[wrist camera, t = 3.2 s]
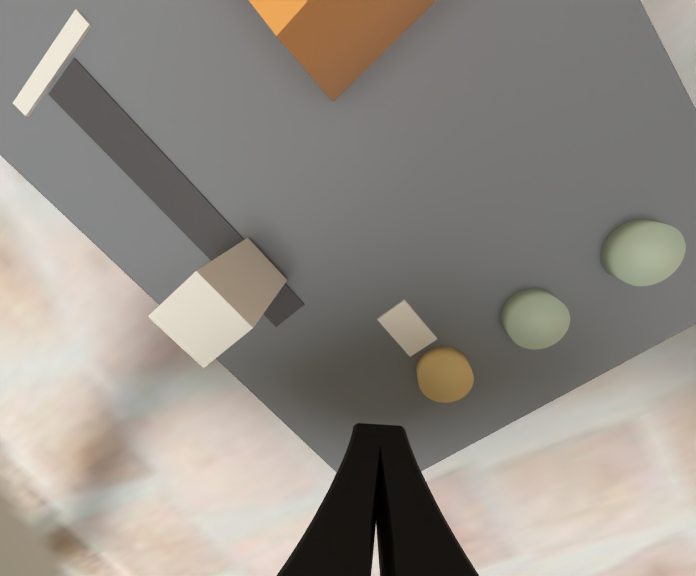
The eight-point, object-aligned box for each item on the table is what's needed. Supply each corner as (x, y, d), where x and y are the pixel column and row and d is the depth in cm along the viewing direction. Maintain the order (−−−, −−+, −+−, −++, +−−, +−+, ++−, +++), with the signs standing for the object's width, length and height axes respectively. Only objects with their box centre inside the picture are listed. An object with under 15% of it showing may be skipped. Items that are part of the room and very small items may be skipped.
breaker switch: (287, 279, 10) (253, 327, 7) (249, 311, 11) (203, 368, 8) (247, 237, 10) (196, 270, 7) (210, 272, 10) (147, 316, 8)
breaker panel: (728, 261, 11) (807, 285, 9) (367, 467, 15) (365, 515, 13) (337, -453, 7) (321, -702, 5) (-13, 96, 11) (-100, 83, 9)
